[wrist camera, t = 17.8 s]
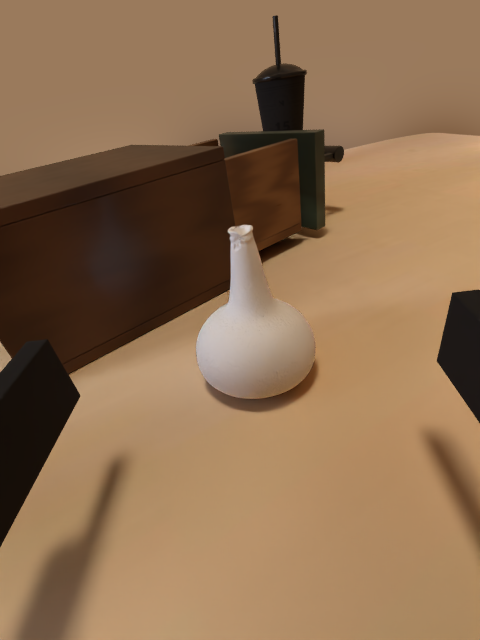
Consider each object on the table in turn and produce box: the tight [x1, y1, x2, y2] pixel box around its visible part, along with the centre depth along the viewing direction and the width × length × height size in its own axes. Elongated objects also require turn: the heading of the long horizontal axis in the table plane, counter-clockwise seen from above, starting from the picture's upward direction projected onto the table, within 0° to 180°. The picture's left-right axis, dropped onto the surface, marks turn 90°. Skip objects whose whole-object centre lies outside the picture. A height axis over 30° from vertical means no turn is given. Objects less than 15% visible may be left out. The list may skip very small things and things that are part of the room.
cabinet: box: [0, 145, 236, 374], centre depth 27 cm, size 17×15×10 cm
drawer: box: [189, 130, 344, 251], centre depth 33 cm, size 22×13×8 cm, turn 129°
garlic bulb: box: [196, 224, 316, 399], centre depth 17 cm, size 6×6×8 cm
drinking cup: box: [253, 16, 307, 131], centre depth 51 cm, size 8×8×20 cm
